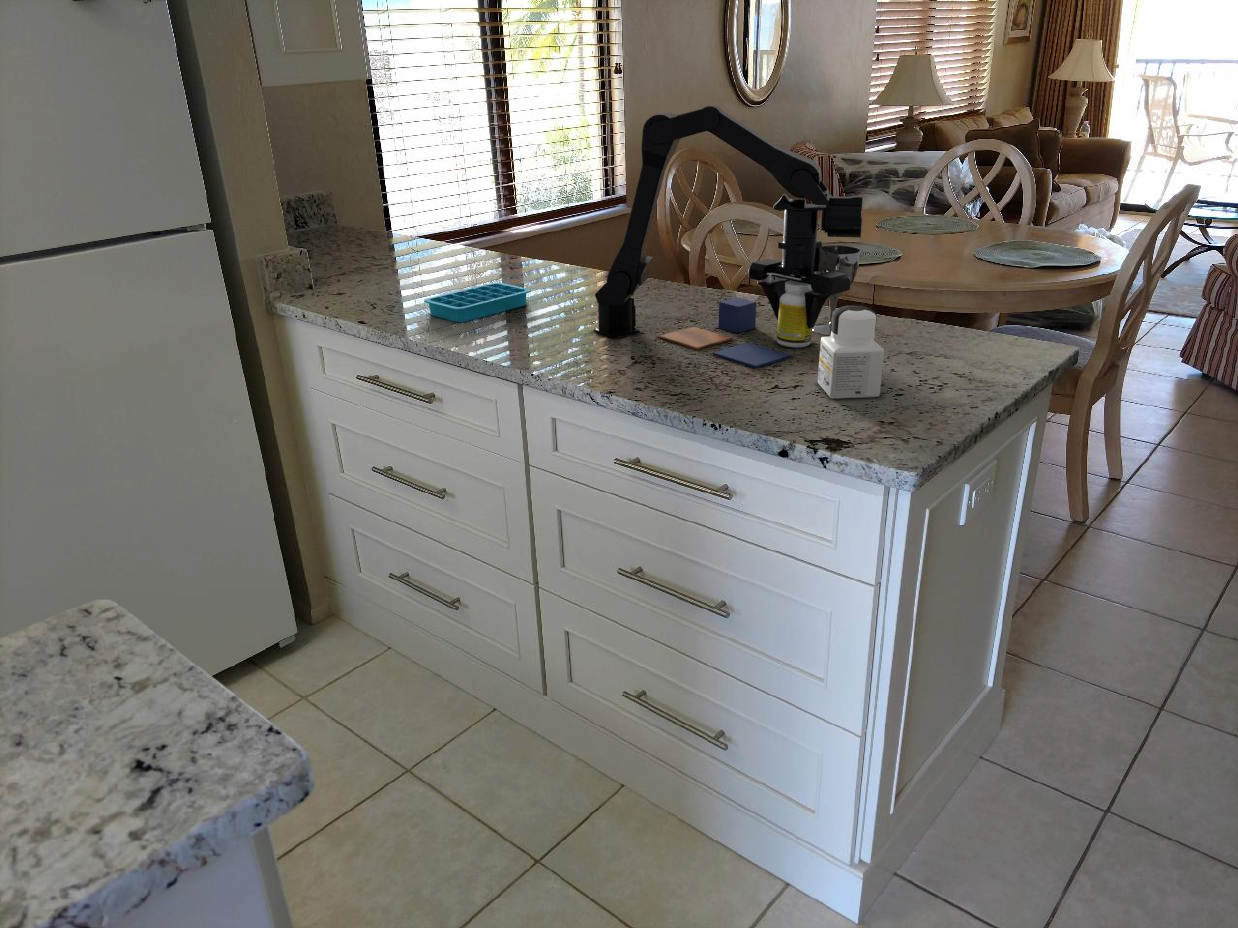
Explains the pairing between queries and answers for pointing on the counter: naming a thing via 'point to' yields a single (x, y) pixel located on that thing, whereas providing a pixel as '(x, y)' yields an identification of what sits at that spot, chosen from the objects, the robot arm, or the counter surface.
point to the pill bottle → (793, 316)
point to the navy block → (737, 315)
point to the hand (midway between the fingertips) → (795, 324)
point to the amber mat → (695, 338)
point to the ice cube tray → (477, 301)
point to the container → (851, 355)
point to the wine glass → (845, 264)
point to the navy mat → (752, 355)
